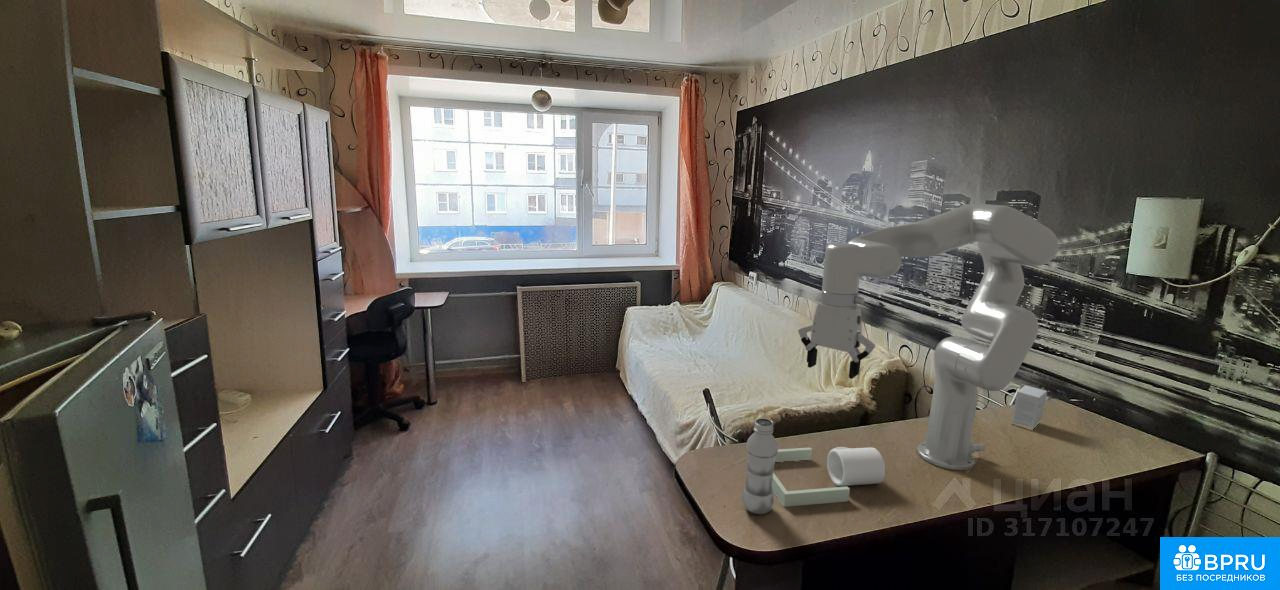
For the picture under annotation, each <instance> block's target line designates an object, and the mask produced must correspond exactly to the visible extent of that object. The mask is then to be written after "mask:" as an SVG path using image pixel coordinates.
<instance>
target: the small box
mask: <svg viewBox="0 0 1280 590" xmlns="http://www.w3.org/2000/svg"><path fill="white" fill-rule="evenodd" d="M1047 394H1048V390H1046V389H1041V388H1038V387H1034V386H1030V385H1028V384H1027V385H1026V384H1025V385H1024V386H1022V387H1021V388H1020V389H1019V390H1018V391H1016V396H1015V401H1014V407H1013V412H1012V418H1011V422H1012V423H1016V424H1021V425H1025V426H1029V427H1033V428H1034V427H1035V426H1036V425H1037V423H1038V422H1039V421H1040V420H1041V421H1042V418H1043V413H1044V410H1045V405H1046V399H1047V396H1048V395H1047Z"/></svg>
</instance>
